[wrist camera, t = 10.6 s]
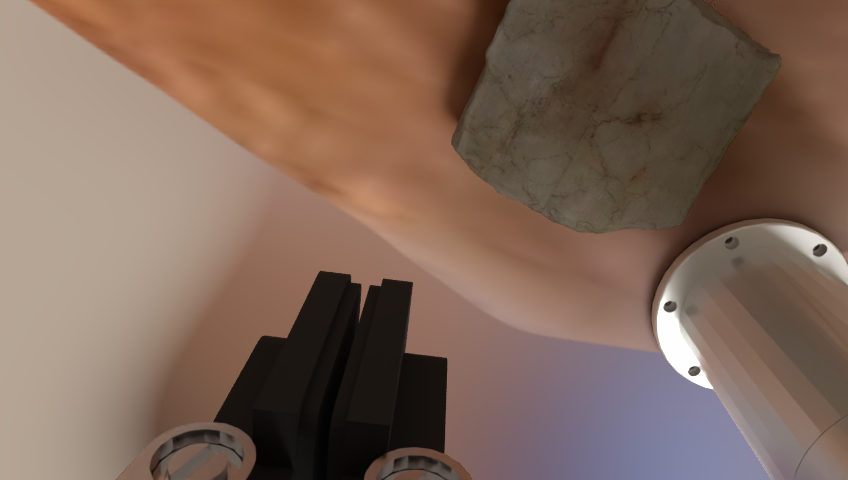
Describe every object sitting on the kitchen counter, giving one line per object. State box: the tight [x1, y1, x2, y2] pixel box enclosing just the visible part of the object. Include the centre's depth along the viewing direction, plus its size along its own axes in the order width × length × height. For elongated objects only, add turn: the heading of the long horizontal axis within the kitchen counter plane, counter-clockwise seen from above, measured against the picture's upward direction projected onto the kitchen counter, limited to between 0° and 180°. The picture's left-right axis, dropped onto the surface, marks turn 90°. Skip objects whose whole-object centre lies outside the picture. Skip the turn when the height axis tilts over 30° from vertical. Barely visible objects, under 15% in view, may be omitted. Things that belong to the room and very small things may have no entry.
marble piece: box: [452, 0, 781, 234], centre depth 35 cm, size 17×15×4 cm
